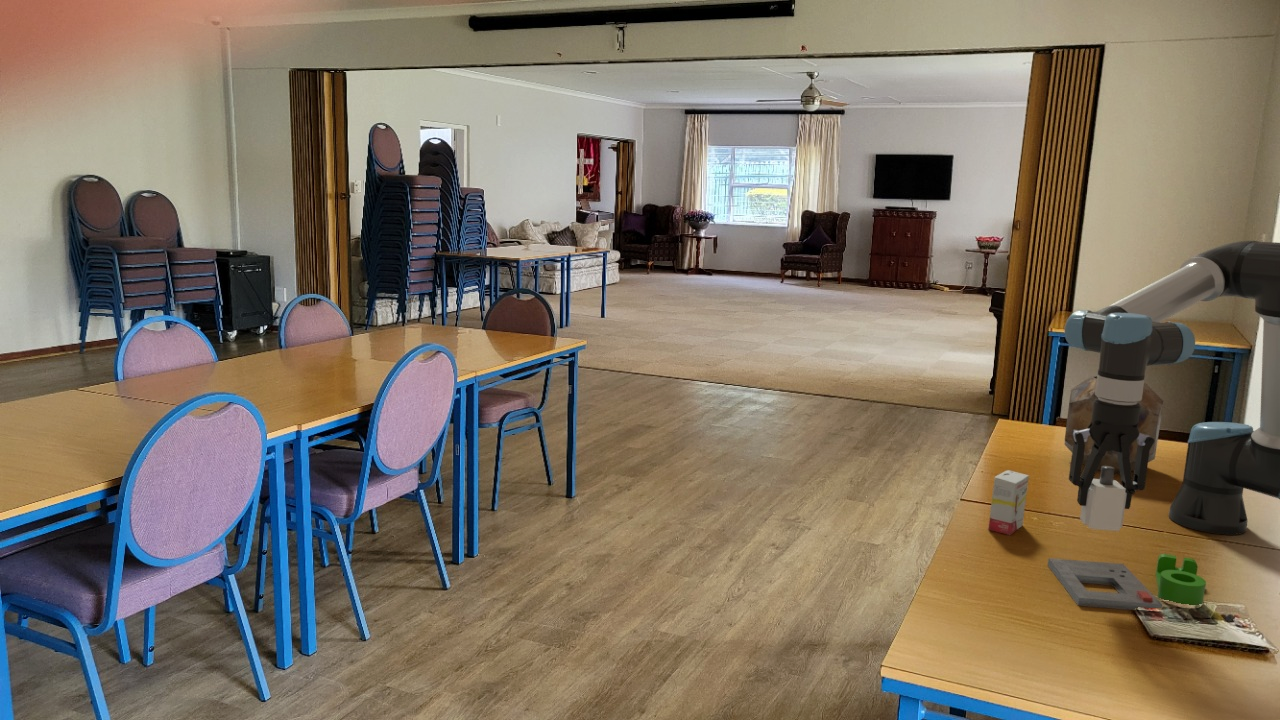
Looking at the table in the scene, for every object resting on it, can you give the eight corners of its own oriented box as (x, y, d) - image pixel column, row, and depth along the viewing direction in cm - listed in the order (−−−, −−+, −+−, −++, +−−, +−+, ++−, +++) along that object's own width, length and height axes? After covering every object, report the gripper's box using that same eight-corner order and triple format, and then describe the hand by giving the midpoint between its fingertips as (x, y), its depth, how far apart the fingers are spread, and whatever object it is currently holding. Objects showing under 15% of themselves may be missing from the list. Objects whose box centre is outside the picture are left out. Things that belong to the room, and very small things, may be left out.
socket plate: (1122, 571, 183) (1123, 561, 183) (1160, 612, 166) (1162, 601, 165) (1047, 565, 185) (1048, 555, 185) (1078, 605, 167) (1079, 594, 167)
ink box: (1010, 536, 200) (1016, 483, 198) (987, 530, 203) (992, 477, 201) (1024, 525, 206) (1030, 474, 204) (1001, 520, 210) (1007, 469, 207)
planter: (1174, 480, 243) (1187, 390, 238) (1079, 477, 243) (1091, 387, 239) (1131, 455, 265) (1143, 373, 260) (1044, 452, 265) (1054, 370, 260)
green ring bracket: (1204, 613, 167) (1208, 589, 166) (1158, 605, 170) (1162, 580, 169) (1195, 582, 180) (1199, 559, 179) (1153, 575, 183) (1157, 552, 182)
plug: (1109, 521, 175) (1117, 464, 172) (1119, 531, 170) (1127, 472, 168) (1081, 519, 175) (1089, 462, 173) (1090, 528, 170) (1098, 470, 168)
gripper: (1162, 398, 170) (1145, 520, 175) (1058, 392, 173) (1043, 512, 177) (1180, 408, 163) (1161, 535, 168) (1070, 401, 165) (1055, 526, 170)
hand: (1100, 523), depth 172 cm, fingers closed on plug, 5 cm apart
